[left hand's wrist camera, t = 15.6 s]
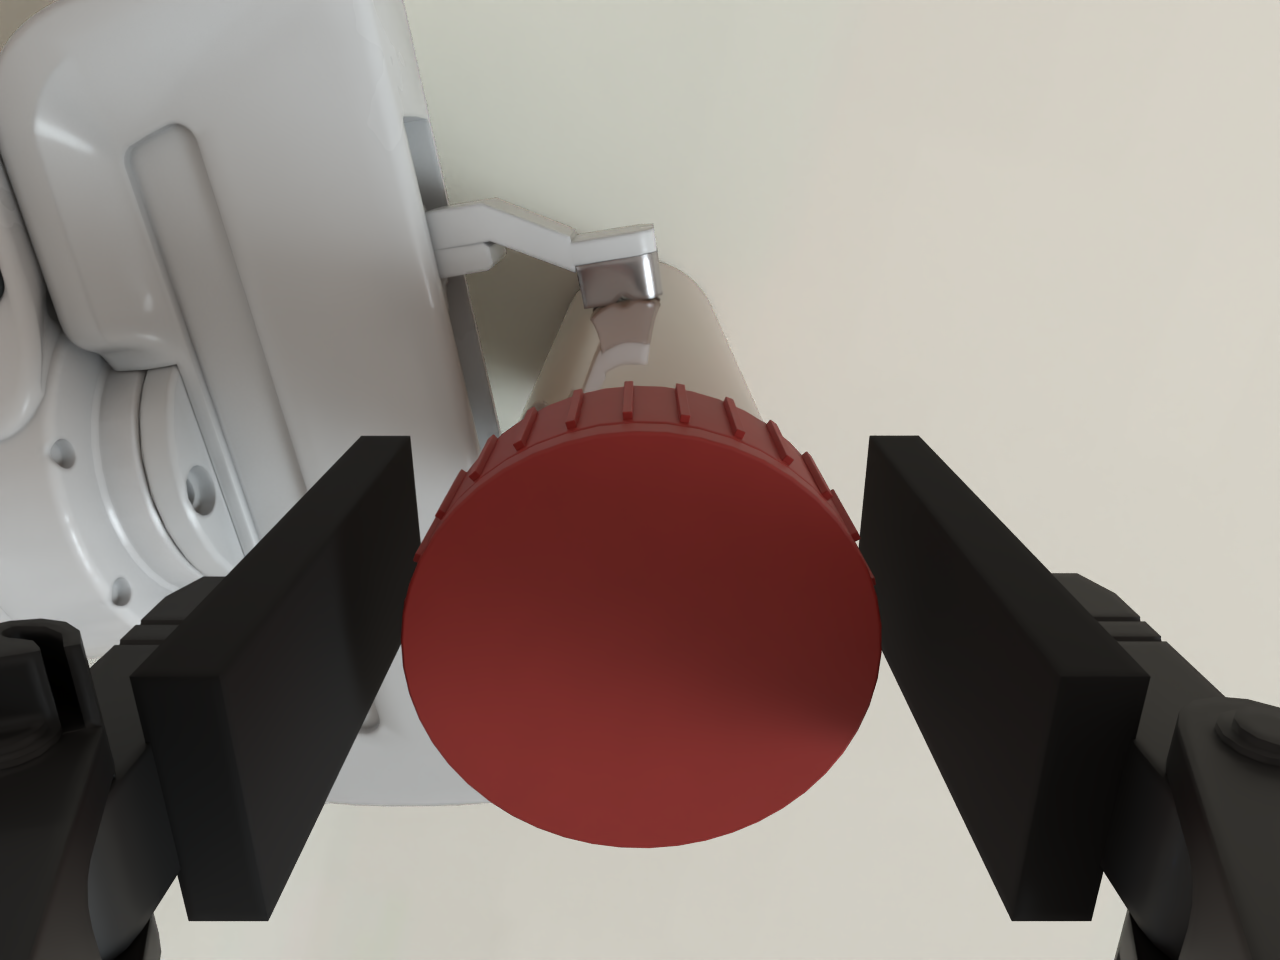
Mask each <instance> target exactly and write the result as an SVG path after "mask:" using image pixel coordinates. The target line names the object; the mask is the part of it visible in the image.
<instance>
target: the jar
mask: <svg viewBox="0 0 1280 960" xmlns="http://www.w3.org/2000/svg"><path fill="white" fill-rule="evenodd" d="M659 266H660V273H661V280H662V288H663V294H662V295H660V296H658V297H655V298H650V299H646V300H633V301H632V300H630V299H628V298H626V297H624V296H622V297H621V298H620V299H619V300H618V301H617V302H616V303H614V304H610V305H607V306H602V307H595V308H588V309H584V305H583V300H582V295H581V290H580V289H579V290H578V292H577V293H576V295H575V296H574V298H573V300H572V302H571V304H570V306H569V308H568V310H567V313H566V315H565V317H564V319H563V322H562V324H561V326H560V328H559V331H558V333H557V335H556V337H555V340H554V342H553V344H552V347H551V349H550V351H549V353H548V356H547V358H546V360H545V362H544V365H543V367H542V369H541V372H540V374H539V376H538V378H537V381H536V383H535V385H534V387H533V390H532V392H531V394H530V397H529V399H528V401H527V403H526V406H525V408H524V410H523V412H522V415H521V417H520V419H519V421H518V422H520V421H521V420H523V419H524V417H525V415H526V412H527V410H529V409H531V408H532V407H535V408H536V410H537V411H539V410H541V409H543V408H545V407H546V406H548V405H551V404H553V403H556V402H559V401H561V400H564V399H567V398H570V397H572V396H573V392H574V390H578V389H582V390H583V393H587V392H592V391H596V390H600V389H605V388H615V387H624V382H625V381H633V386H660V387H668V388H675V387H676V384H677V383H678V384H683V385H685V390H687V391H693V392H696V393H699V394H703V395H706V396H710V397H713V398H717V399H720V400H722V401H724V399H725V397H729V398H731V399H733V400H734V402H735V405H736V407H738V408H740V409H742V410H745V411H746V412H748V413H750V414H751V415H753V416H754V417H756V418H758V419H759V420H761V421H763V420H762V418H761V416H760V413H759V411H758V409H757V407H756V404H755V402H754V400H753V398H752V395H751V393H750V391H749V389H748V387H747V384H746V382H745V380H744V378H743V375H742V373H741V371H740V369H739V366H738V364H737V362H736V360H735V357H734V355H733V353H732V351H731V349H730V346H729V344H728V342H727V340H726V337H725V335H724V333H723V331H722V328H721V326H720V324H719V322H718V320H717V317H716V315H715V313H714V311H713V308H712V306H711V304H710V302H709V300H708V298H707V297H706V295H705V293H704V292H703V291H702V289H701V288H700V287H699V286H698V285H697V283H695V282H694V281H693V280H692V279H691V278H690V277H689V276H687V275H686V274H685V273H683V272H682V271H680V270H678V269H676V268H674V267H672V266H670V265H667V264H664V263H661V262H659Z"/></svg>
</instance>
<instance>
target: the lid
mask: <svg viewBox="0 0 1280 960" xmlns="http://www.w3.org/2000/svg"><path fill="white" fill-rule="evenodd" d="M860 539H861V538H860V536H859V534H858V532H857V530H856V528H855V526H854V525H853V523H852V521H851V519H850V518H849V516H848V514H847V512H846V510H845V509H844V507H843V505H842V503H841V502H840V500H839V498H838V496H837V495H836V493H835V491H834V490H833V489H832V490H830V489H829V488H828V486H827V484H826V482H825V480H824V478H823V477H822V475H821V473H820V471H819V469H818V468H817V466H816V464H815V462H814V460H813V459H812V457H811V456H810V454H809V453H808V452H805V453H804V454H803V455H801V454H800V453H799V452H798V451H797V450H796V448H795V447H794V446H793V445H792V444H791V443H790V442H789V441H788V440H786V439H785V438H784V437H783V436H782V434H781V432H780V430H779V428H778V426H777V424H776V423H774V422H773V421H772V420H770V421H769V422H768V423H767V424H766V423H764V422H763V421H761V420H759V419H758V418H756V417H754V416H753V415H751V414H750V413H748V412H746V411H745V410H742V409H740V408H738V407H736V405H735V402H734V400H733V399H731V398H729V397H725V399H724V401H722V400H720V399H717V398H713V397H710V396H706V395H703V394H699V393H696V392H693V391H687V390H685V385H683V384H678V383H677V384H676V387H675V388H668V387H660V386H633V381H625V382H624V387H615V388H605V389H600V390H596V391H592V392H587V393H583V390H582V389H578V390H574V392H573V396H572V397H570V398H567V399H564V400H561V401H559V402H556V403H553V404H551V405H548V406H546V407H545V408H543V409H541V410H539V411H537V410H536V408H535V407H532V408H531V409H529V410H527V412H526V415H525V417H524V419H523V420H521V421H520V422H518V423H517V424H516V425H514V426H513V427H511V428H510V429H509V430H507V431H506V432H504V433H503V434H502V435H501V436H500V437H498V438H497V437H496V436H495V435H494V434H493V435H492V436H491V437H490V438H488V440H487V442H486V444H485V446H484V448H483V450H482V451H481V453H480V455H479V457H478V459H477V460H476V461H475V463H474V464H473V465H472V466H471V468H470V469H469V470H468V471H467V472H466V471H464V470H462V469H461V470H460V472H459V473H458V475H457V477H456V478H455V480H454V482H453V484H452V486H451V487H450V489H449V491H448V493H447V495H446V496H445V498H444V500H443V502H442V504H441V505H440V507H439V509H438V511H437V513H436V514H435V519H434V521H433V523H432V524H431V526H430V528H429V530H428V532H427V533H426V535H425V537H424V539H423V541H422V543H421V544H420V546H419V548H418V550H417V552H416V553H415V556H414V559H413V561H414V562H417V566H416V568H415V571H414V573H413V576H412V578H411V581H410V583H409V587H408V591H407V595H406V598H405V600H404V608H403V615H402V628H401V650H402V663H403V670H404V674H405V678H406V683H407V687H408V691H409V695H410V697H411V700H412V702H413V705H414V708H415V710H416V713H417V715H418V718H419V720H420V722H421V724H422V725H423V727H424V729H425V731H426V733H427V734H428V736H429V738H430V740H431V741H432V743H433V744H434V746H435V747H436V748H437V750H438V751H439V752H440V754H441V755H442V756H443V758H444V759H445V760H446V762H447V763H448V764H449V765H450V766H451V767H452V768H453V769H454V771H455V772H456V773H457V774H458V775H459V776H460V777H461V778H462V779H463V780H464V781H465V782H466V783H467V784H468V785H470V786H471V787H472V788H473V789H475V790H476V791H477V792H478V793H480V794H481V795H482V796H483V797H485V798H486V799H487V800H488V801H490V802H491V803H493V804H494V805H496V806H498V807H499V808H501V809H502V810H504V811H506V812H507V813H509V814H510V815H512V816H514V817H516V818H518V819H520V820H522V821H524V822H527V823H529V824H531V825H533V826H535V827H537V828H540V829H542V830H545V831H548V832H551V833H554V834H557V835H560V836H562V837H566V838H570V839H574V840H578V841H583V842H587V843H591V844H598V845H606V846H614V847H626V848H656V847H668V846H679V845H684V844H690V843H695V842H700V841H706V840H709V839H712V838H716V837H719V836H723V835H726V834H729V833H733V832H735V831H737V830H740V829H742V828H745V827H747V826H749V825H752V824H754V823H757V822H759V821H761V820H762V819H764V818H766V817H768V816H770V815H772V814H773V813H775V812H777V811H779V810H781V809H782V808H784V807H785V806H787V805H788V804H789V803H791V802H792V801H794V800H795V799H796V798H798V797H799V796H801V795H802V794H803V793H805V792H806V791H807V790H808V789H809V788H810V787H812V786H813V785H814V784H815V783H816V782H817V781H818V780H819V779H820V778H821V777H822V776H824V775H825V774H826V773H827V771H828V770H829V769H830V768H831V767H832V766H833V764H834V763H835V762H836V761H837V760H838V758H839V757H840V756H841V755H842V754H843V753H844V751H845V749H846V748H847V746H848V745H849V743H850V742H851V740H852V739H853V737H854V736H855V734H856V732H857V731H858V729H859V727H860V725H861V723H862V720H863V718H864V716H865V714H866V712H867V710H868V708H869V705H870V702H871V699H872V696H873V692H874V689H875V686H876V682H877V679H878V673H879V666H880V659H881V653H882V624H881V618H880V611H879V605H878V599H877V595H876V591H875V588H874V585H876V582H875V577H874V576H873V574H872V572H871V570H870V568H869V566H868V565H867V563H866V561H865V559H864V557H863V555H862V554H861V552H860V550H859V548H858V546H857V544H856V543H855V541H857V540H860Z"/></svg>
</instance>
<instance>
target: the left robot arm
mask: <svg viewBox="0 0 1280 960" xmlns="http://www.w3.org/2000/svg"><path fill="white" fill-rule="evenodd" d="M860 538H861V539H860V540H859V550H860V552H861V554H862V555H863V557H864V559H865V561H866V563H867V565H868V566H869V568H870V570H871V572H872V574H873V576H874V577H875V582H876V585H874V588H875V591H876V595H877V599H878V605H879V611H880V618H881V624H882V652H883V654H884V656H885V658H886V660H887V662H888V664H889V666H890V668H891V670H892V672H893V675H894V677H895V679H896V681H897V683H898V685H899V687H900V689H901V691H902V693H903V695H904V697H905V700H906V702H907V704H908V706H909V708H910V710H911V712H912V714H913V716H914V718H915V720H916V722H917V725H918V727H919V729H920V731H921V733H922V735H923V737H924V739H925V741H926V743H927V745H928V747H929V750H930V752H931V754H932V756H933V758H934V760H935V762H936V764H937V766H938V768H939V770H940V772H941V775H942V777H943V779H944V781H945V783H946V785H947V787H948V789H949V791H950V793H951V795H952V797H953V800H954V802H955V804H956V806H957V808H958V810H959V812H960V814H961V816H962V818H963V820H964V822H965V825H966V827H967V829H968V831H969V833H970V835H971V837H972V839H973V841H974V843H975V845H976V847H977V850H978V852H979V854H980V856H981V858H982V860H983V862H984V864H985V866H986V868H987V870H988V872H989V875H990V877H991V879H992V881H993V883H994V885H995V887H996V889H997V891H998V893H999V895H1000V897H1001V900H1002V902H1003V904H1004V906H1005V908H1006V910H1007V912H1008V914H1009V916H1010V918H1011V920H1012V921H1091V920H1092V916H1093V912H1094V908H1095V904H1096V900H1097V896H1098V891H1099V887H1100V883H1101V879H1102V875H1103V871H1104V873H1105V874H1106V876H1107V878H1108V879H1109V881H1110V882H1111V884H1112V885H1113V887H1114V888H1115V890H1116V892H1117V893H1118V895H1119V896H1120V898H1121V899H1122V901H1123V903H1124V904H1125V906H1126V907H1127V913H1126V917H1125V921H1124V925H1123V928H1122V932H1121V936H1120V940H1119V944H1118V948H1117V951H1116V955H1115V959H1114V960H1280V708H1279V707H1275V706H1271V705H1268V704H1264V703H1260V702H1256V701H1252V700H1249V699H1240V698H1228V697H1225V696H1224V695H1223V694H1222V693H1221V692H1219V691H1218V690H1217V689H1216V688H1215V687H1214V686H1213V685H1212V684H1211V683H1210V682H1209V681H1208V680H1207V679H1206V678H1205V677H1204V676H1202V675H1201V674H1200V673H1199V672H1198V671H1197V670H1196V669H1195V668H1194V667H1193V666H1192V665H1191V664H1190V663H1189V662H1188V661H1187V660H1185V659H1184V658H1183V657H1182V656H1181V655H1180V654H1179V653H1178V652H1177V651H1176V650H1175V649H1174V648H1173V647H1172V646H1171V645H1170V644H1168V643H1167V642H1162V641H1161V636H1160V635H1159V634H1158V633H1157V632H1156V631H1155V630H1154V629H1153V628H1151V627H1150V626H1149V625H1148V624H1147V623H1146V622H1141V621H1140V616H1139V615H1138V614H1137V613H1136V612H1134V611H1133V610H1132V609H1131V608H1130V607H1129V606H1128V605H1127V604H1126V603H1125V602H1124V601H1123V600H1122V599H1121V598H1120V597H1118V596H1117V595H1116V594H1115V593H1114V592H1112V591H1110V590H1108V589H1106V588H1104V587H1102V586H1100V585H1098V584H1096V583H1095V582H1093V581H1091V580H1089V579H1087V578H1085V577H1083V576H1081V575H1079V574H1077V573H1051V572H1050V571H1049V570H1048V569H1047V568H1046V567H1045V566H1044V565H1043V564H1042V563H1041V562H1040V561H1039V560H1038V559H1037V558H1036V557H1035V556H1034V555H1033V554H1032V553H1031V552H1030V551H1029V550H1028V549H1027V548H1026V547H1025V545H1024V544H1023V543H1022V542H1021V541H1020V540H1019V539H1018V538H1017V537H1016V536H1015V535H1014V534H1013V533H1012V532H1011V531H1010V530H1009V529H1008V528H1007V527H1006V526H1005V525H1004V524H1003V523H1002V522H1001V521H1000V520H999V518H998V517H997V516H996V515H995V514H994V513H993V512H992V511H991V510H990V509H989V508H988V507H987V506H986V505H985V504H984V503H983V502H982V501H981V500H980V499H979V498H978V497H977V496H976V495H975V494H974V493H973V491H972V490H971V489H970V488H969V487H968V486H967V485H966V484H965V483H964V482H963V481H962V480H961V479H960V478H959V477H958V476H957V475H956V474H955V473H954V472H953V471H952V470H951V469H950V468H949V467H948V466H947V465H946V463H945V462H944V461H943V460H942V459H941V458H940V457H939V456H938V455H937V454H936V453H935V452H934V451H933V450H932V449H931V448H930V447H929V446H928V445H927V444H926V443H925V442H924V441H923V440H922V439H921V438H920V436H870V437H869V448H868V458H867V468H866V478H865V488H864V499H863V509H862V519H861V529H860ZM420 544H421V539H420V529H419V519H418V509H417V499H416V488H415V478H414V468H413V458H412V448H411V437H410V436H360V438H359V439H358V440H357V441H356V442H355V443H354V444H353V445H352V446H351V447H350V448H349V449H348V450H347V451H346V452H345V453H344V454H343V455H342V456H341V457H340V458H339V459H338V460H337V461H336V462H335V463H334V465H333V466H332V467H331V468H330V469H329V470H328V471H327V472H326V473H325V474H324V475H323V476H322V477H321V478H320V479H319V480H318V481H317V482H316V483H315V484H314V485H313V486H312V487H311V488H310V489H309V490H308V492H307V493H306V494H305V495H304V496H303V497H302V498H301V499H300V500H299V501H298V502H297V503H296V504H295V505H294V506H293V507H292V508H291V509H290V510H289V511H288V512H287V513H286V514H285V515H284V516H283V517H282V518H281V520H280V521H279V522H278V523H277V524H276V525H275V526H274V527H273V528H272V529H271V530H270V531H269V532H268V533H267V534H266V535H265V536H264V537H263V538H262V539H261V540H260V541H259V542H258V543H257V544H256V545H255V547H254V548H253V549H252V550H251V551H250V552H249V553H248V554H247V555H246V556H245V557H244V558H243V559H242V560H241V561H240V562H239V563H238V564H237V565H236V566H235V567H234V568H233V569H232V570H231V571H230V572H229V574H228V575H227V576H203V577H201V578H199V579H198V580H196V581H194V582H192V583H190V584H188V585H186V586H184V587H182V588H181V589H179V590H177V591H175V592H173V593H171V594H169V595H167V596H165V597H164V598H163V599H162V600H161V601H160V602H159V603H158V604H157V605H156V606H155V607H154V608H153V609H152V610H151V611H150V612H149V613H148V614H147V615H145V616H144V617H143V618H142V619H141V624H140V625H135V626H134V627H133V628H132V629H131V630H130V631H129V632H128V633H126V634H125V635H124V636H123V637H122V638H121V639H120V644H119V645H114V646H113V647H112V648H111V649H110V650H109V651H108V652H106V653H105V654H104V655H103V656H102V657H101V658H100V659H99V660H98V661H97V662H96V663H95V664H94V665H93V666H92V667H91V668H89V664H88V660H87V656H86V653H85V649H84V645H83V641H82V637H81V633H80V630H78V629H77V628H75V627H74V626H72V625H70V624H69V623H67V622H65V621H57V620H50V619H43V618H39V619H26V620H13V621H6V622H2V623H0V960H160V956H161V947H160V939H159V932H158V928H157V925H156V921H155V917H154V913H153V912H154V911H155V909H156V907H157V906H158V904H159V903H160V901H161V900H162V898H163V896H164V895H165V893H166V892H167V890H168V889H169V887H170V885H171V884H172V882H173V881H174V879H175V878H176V876H177V875H178V879H179V883H180V887H181V891H182V896H183V900H184V904H185V908H186V912H187V916H188V920H189V921H268V920H269V918H270V916H271V914H272V912H273V910H274V908H275V906H276V904H277V902H278V900H279V897H280V895H281V893H282V891H283V889H284V887H285V885H286V883H287V881H288V879H289V877H290V875H291V872H292V870H293V868H294V866H295V864H296V862H297V860H298V858H299V856H300V854H301V852H302V850H303V847H304V845H305V843H306V841H307V839H308V837H309V835H310V833H311V831H312V829H313V827H314V825H315V822H316V820H317V818H318V816H319V814H320V812H321V810H322V808H323V806H324V804H325V802H326V800H327V797H328V795H329V793H330V791H331V789H332V787H333V785H334V783H335V781H336V779H337V777H338V775H339V772H340V770H341V768H342V766H343V764H344V762H345V760H346V758H347V756H348V754H349V752H350V750H351V747H352V745H353V743H354V741H355V739H356V737H357V735H358V733H359V731H360V729H361V727H362V725H363V722H364V720H365V718H366V716H367V714H368V712H369V710H370V708H371V706H372V704H373V702H374V700H375V697H376V695H377V693H378V691H379V689H380V687H381V685H382V683H383V681H384V679H385V677H386V675H387V672H388V670H389V668H390V666H391V664H392V662H393V660H394V658H395V656H396V654H397V652H398V650H399V647H400V645H401V628H402V615H403V608H404V600H405V598H406V595H407V591H408V587H409V583H410V581H411V578H412V576H413V573H414V571H415V568H416V566H417V562H414V561H413V559H414V556H415V553H416V552H417V550H418V548H419V546H420Z"/></svg>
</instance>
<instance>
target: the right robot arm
mask: <svg viewBox="0 0 1280 960" xmlns="http://www.w3.org/2000/svg"><path fill="white" fill-rule="evenodd" d="M505 247H507V248H510V249H512V250H515V251H518V252H521V253H523V254H526V255H529V256H531V257H534V258H537V259H540V260H542V261H545V262H548V263H550V264H553V265H556V266H559V267H561V268H564V269H567V270H569V271H572V272H576V270H577V275H578V280H579V285H580V290H581V295H582V300H583V305H584V309H588V308H595V307H602V306H607V305H610V304H614V303H616V302H617V301H618V300H619V299H620V298H621V297H622V296H624V297H626V298H628V299H630V300H632V301H633V300H646V299H650V298H655V297H658V296H660V295H662V294H663V288H662V280H661V273H660V266H659V258H658V251H657V246H656V238H655V232H654V225H653V224H638V225H631V226H625V227H619V228H613V229H607V230H601V231H595V232H588V233H582V234H577V233H576V229H574V228H572V227H569V226H567V225H564V224H562V223H559V222H557V221H554V220H552V219H549V218H547V217H544V216H542V215H539V214H537V213H534V212H532V211H529V210H526V209H524V208H521V207H519V206H516V205H514V204H511V203H509V202H506V201H504V200H501V199H499V198H490V199H484V200H478V201H472V202H466V203H460V204H454V205H450V204H449V200H448V195H447V191H446V186H445V182H444V177H443V173H442V168H441V164H440V160H439V155H438V151H437V146H436V142H435V137H434V133H433V128H432V124H431V120H430V115H429V111H428V106H427V102H426V97H425V93H424V89H423V84H422V80H421V75H420V71H419V66H418V62H417V57H416V53H415V49H414V44H413V40H412V35H411V30H410V26H409V21H408V17H407V13H406V9H405V5H404V1H403V0H57V1H55V2H53V3H51V4H49V5H48V6H46V7H44V8H43V9H41V10H40V11H38V12H36V13H35V14H34V15H32V16H31V17H30V18H28V19H27V20H26V21H25V22H24V23H23V24H22V25H21V26H20V27H19V28H18V29H17V30H16V31H15V32H14V33H13V34H12V35H11V36H10V38H9V39H8V41H7V42H6V44H5V45H4V46H3V48H2V50H1V52H0V623H2V622H6V621H13V620H26V619H39V618H43V619H50V620H57V621H65V622H67V623H69V624H70V625H72V626H74V627H75V628H77V629H78V630H80V633H81V637H82V641H83V645H84V649H85V653H86V656H87V660H88V659H95V658H101V657H102V656H103V655H104V654H105V653H106V652H108V651H109V650H110V649H111V648H112V647H113V646H114V645H119V644H120V639H121V638H122V637H123V636H124V635H125V634H126V633H128V632H129V631H130V630H131V629H132V628H133V627H134V626H135V625H140V624H141V619H142V618H143V617H144V616H145V615H147V614H148V613H149V612H150V611H151V610H152V609H153V608H154V607H155V606H156V605H157V604H158V603H159V602H160V601H161V600H162V599H163V598H164V597H165V596H167V595H169V594H171V593H173V592H175V591H177V590H179V589H181V588H182V587H184V586H186V585H188V584H190V583H192V582H194V581H196V580H198V579H199V578H201V577H203V576H227V575H228V574H229V572H230V571H231V570H232V569H233V568H234V567H235V566H236V565H237V564H238V563H239V562H240V561H241V560H242V559H243V558H244V557H245V556H246V555H247V554H248V553H249V552H250V551H251V550H252V549H253V548H254V547H255V545H256V544H257V543H258V542H259V541H260V540H261V539H262V538H263V537H264V536H265V535H266V534H267V533H268V532H269V531H270V530H271V529H272V528H273V527H274V526H275V525H276V524H277V523H278V522H279V521H280V520H281V518H282V517H283V516H284V515H285V514H286V513H287V512H288V511H289V510H290V509H291V508H292V507H293V506H294V505H295V504H296V503H297V502H298V501H299V500H300V499H301V498H302V497H303V496H304V495H305V494H306V493H307V492H308V490H309V489H310V488H311V487H312V486H313V485H314V484H315V483H316V482H317V481H318V480H319V479H320V478H321V477H322V476H323V475H324V474H325V473H326V472H327V471H328V470H329V469H330V468H331V467H332V466H333V465H334V463H335V462H336V461H337V460H338V459H339V458H340V457H341V456H342V455H343V454H344V453H345V452H346V451H347V450H348V449H349V448H350V447H351V446H352V445H353V444H354V443H355V442H356V441H357V440H358V439H359V438H360V436H410V437H411V448H412V458H413V468H414V478H415V488H416V499H417V509H418V519H419V529H420V539H421V543H422V541H423V539H424V537H425V535H426V533H427V532H428V530H429V528H430V526H431V524H432V523H433V521H434V519H435V514H436V513H437V511H438V509H439V507H440V505H441V504H442V502H443V500H444V498H445V496H446V495H447V493H448V491H449V489H450V487H451V486H452V484H453V482H454V480H455V478H456V477H457V475H458V473H459V472H460V470H461V469H462V470H464V471H466V472H467V471H468V470H469V469H470V468H471V466H472V465H473V464H474V463H475V461H476V460H477V459H478V457H479V455H480V453H481V451H482V450H483V448H484V446H485V444H486V442H487V440H488V438H490V437H491V436H492V435H493V434H494V435H495V436H496V437H497V438H498V437H500V436H501V431H500V426H499V422H498V417H497V413H496V408H495V404H494V399H493V395H492V391H491V386H490V382H489V377H488V373H487V368H486V364H485V359H484V355H483V351H482V346H481V342H480V337H479V333H478V328H477V324H476V319H475V315H474V311H473V306H472V302H471V297H470V293H469V288H468V284H467V280H466V275H465V274H470V273H476V272H482V271H488V270H490V269H491V268H492V267H493V266H495V265H496V264H497V263H498V262H499V261H501V260H502V259H503V258H504V256H505V255H506V254H507V253H506V248H505ZM328 803H334V804H345V805H359V806H451V805H470V804H485V803H491V802H490V801H488V800H487V799H486V798H485V797H483V796H482V795H481V794H480V793H478V792H477V791H476V790H475V789H473V788H472V787H471V786H470V785H468V784H467V783H466V782H465V781H464V780H463V779H462V778H461V777H460V776H459V775H458V774H457V773H456V772H455V771H454V769H453V768H452V767H451V766H450V765H449V764H448V763H447V762H446V760H445V759H444V758H443V756H442V755H441V754H440V752H439V751H438V750H437V748H436V747H435V746H434V744H433V743H432V741H431V740H430V738H429V736H428V734H427V733H426V731H425V729H424V727H423V725H422V724H421V722H420V720H419V718H418V715H417V713H416V710H415V708H414V705H413V702H412V700H411V697H410V695H409V691H408V687H407V683H406V678H405V674H404V670H403V663H402V650H401V645H400V647H399V650H398V652H397V654H396V656H395V658H394V660H393V662H392V664H391V666H390V668H389V670H388V672H387V675H386V677H385V679H384V681H383V683H382V685H381V687H380V689H379V691H378V693H377V695H376V697H375V700H374V702H373V704H372V706H371V708H370V710H369V712H368V714H367V716H366V718H365V720H364V722H363V725H362V727H361V729H360V731H359V733H358V735H357V737H356V739H355V741H354V743H353V745H352V747H351V750H350V752H349V754H348V756H347V758H346V760H345V762H344V764H343V766H342V768H341V770H340V772H339V775H338V777H337V779H336V781H335V783H334V785H333V787H332V789H331V791H330V793H329V795H328V797H327V800H326V802H325V804H328Z"/></svg>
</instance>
